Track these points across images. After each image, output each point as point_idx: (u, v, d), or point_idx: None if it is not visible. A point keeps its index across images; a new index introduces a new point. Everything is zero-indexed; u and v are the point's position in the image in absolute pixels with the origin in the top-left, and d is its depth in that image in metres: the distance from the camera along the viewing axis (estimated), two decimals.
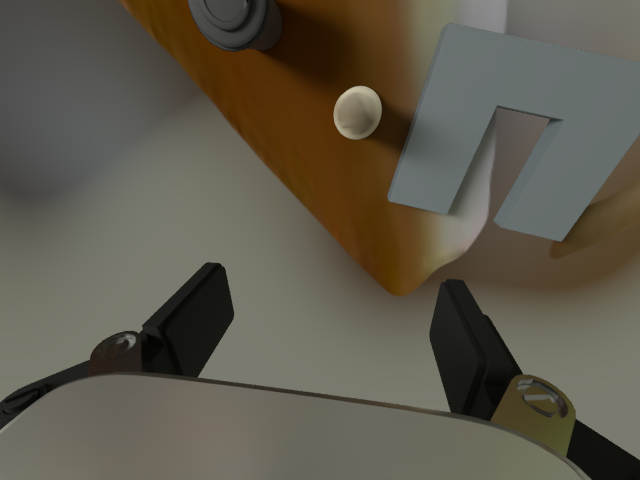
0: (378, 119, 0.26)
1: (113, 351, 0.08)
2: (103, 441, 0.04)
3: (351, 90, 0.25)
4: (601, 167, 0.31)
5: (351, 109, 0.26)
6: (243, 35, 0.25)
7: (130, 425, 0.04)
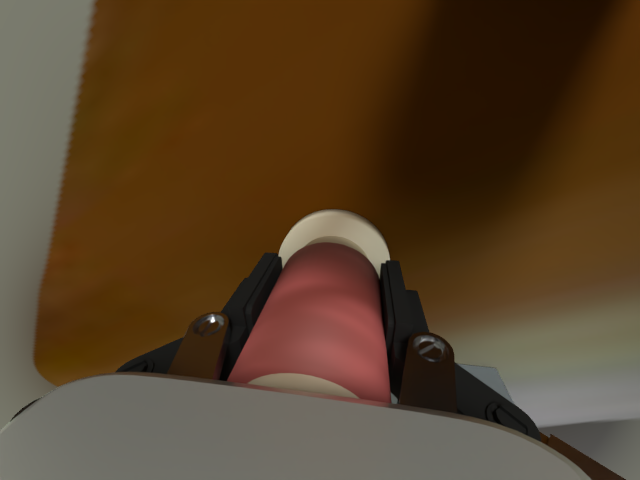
0: None
1: (206, 329, 0.08)
2: (103, 441, 0.04)
3: None
4: None
5: None
6: None
7: (130, 425, 0.04)
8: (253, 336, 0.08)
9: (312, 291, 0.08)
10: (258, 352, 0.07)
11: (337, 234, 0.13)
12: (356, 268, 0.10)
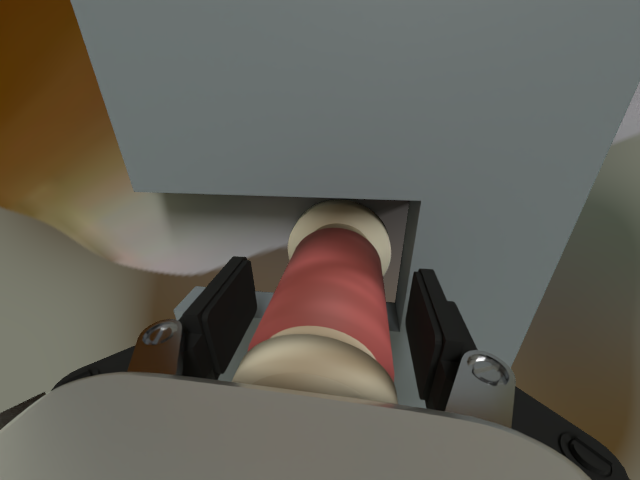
0: None
1: (157, 337, 0.08)
2: (103, 441, 0.04)
3: None
4: None
5: None
6: None
7: (130, 425, 0.04)
8: (274, 301, 0.09)
9: (323, 265, 0.10)
10: (280, 311, 0.08)
11: (342, 222, 0.14)
12: (360, 249, 0.11)
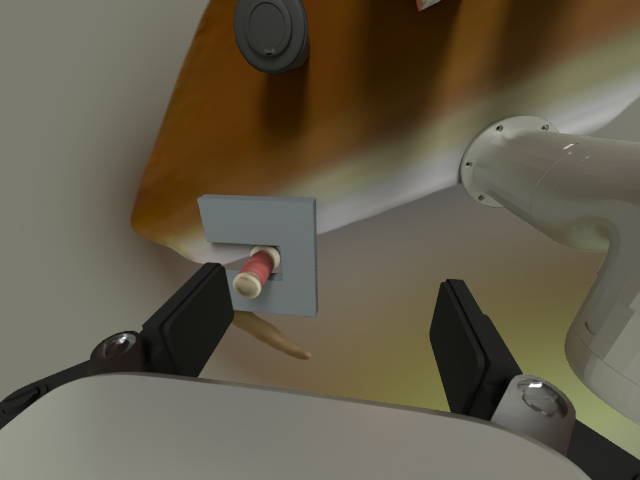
0: (248, 297, 0.43)
1: (113, 351, 0.08)
2: (103, 441, 0.04)
3: (257, 282, 0.42)
4: (267, 307, 0.54)
5: (247, 283, 0.42)
6: (247, 50, 0.28)
7: (130, 425, 0.04)
8: (242, 268, 0.44)
9: (253, 261, 0.45)
10: (242, 269, 0.43)
11: (264, 249, 0.49)
12: (264, 257, 0.47)
